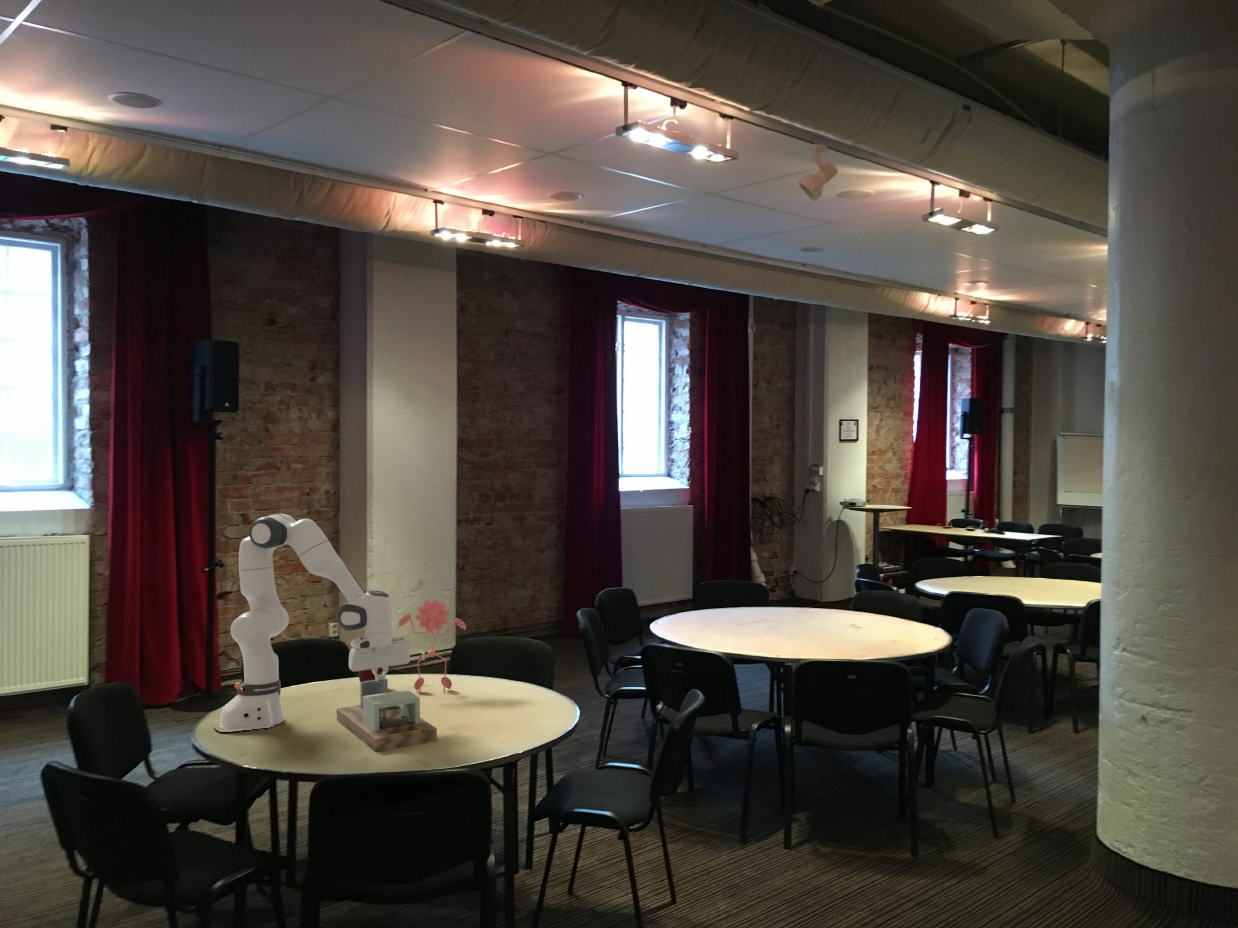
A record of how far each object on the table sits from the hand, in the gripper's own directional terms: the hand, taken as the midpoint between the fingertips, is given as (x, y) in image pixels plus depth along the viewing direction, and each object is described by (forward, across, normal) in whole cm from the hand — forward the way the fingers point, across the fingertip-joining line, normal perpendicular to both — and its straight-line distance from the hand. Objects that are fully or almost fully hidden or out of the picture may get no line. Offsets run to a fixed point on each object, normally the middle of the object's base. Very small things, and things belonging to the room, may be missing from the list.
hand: (380, 680), depth 324 cm
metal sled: (+11, 0, +4) cm, 12 cm away
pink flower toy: (+16, -32, -36) cm, 51 cm away
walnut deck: (+15, 0, +5) cm, 16 cm away
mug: (+15, -14, -52) cm, 56 cm away
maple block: (+12, 0, +11) cm, 16 cm away
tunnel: (+12, 0, +11) cm, 16 cm away
